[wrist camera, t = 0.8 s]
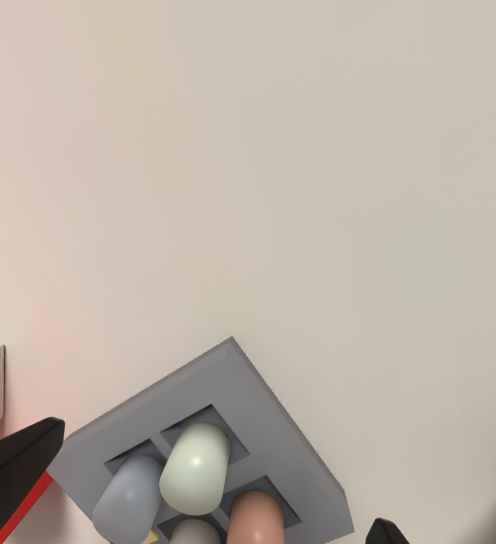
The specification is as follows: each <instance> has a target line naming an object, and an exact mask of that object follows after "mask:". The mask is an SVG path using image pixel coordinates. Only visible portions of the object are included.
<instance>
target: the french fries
mask: <svg viewBox="0 0 496 544" xmlns="http://www.w3.org/2000/svg"><path fill="white" fill-rule="evenodd" d="M53 480H54V479H53V478H52V477H51V476H50V475H49V473H48V472H47V471H46V470H45V472H44V473H43V475H42V476H41V477H40V479H39V480H38V481H37V483H36V484H35V486H34V487H33V488H32V490H31V491H30V493H29V494H28V495H27V497H26V498H25V499H24V501H23V502H22V504H21V505H20V506H19V508H18V509H17V510H16V512H15V513H14V514H13V516H12V517H11V518H10V519H9V521H8V522H7V523H6V524H5V526H4V527H3V528H2V529H1V530H0V544H3V542H4V541H5V540H6V539H7V537H8V536H9V535H10V534H11V532H12V531H13V530H14V529H15V527H16V526H17V525H18V524H19V522H20V521H21V520H22V519H23V517H24V516H25V515H26V514H27V512H28V511H29V510H30V509H31V507H32V506H33V505H34V504H35V502H36V501H37V500H38V499H39V497H40V496H41V495H42V494H43V492H44V491H45V490H46V489H47V487H48V486H49V485H50V484H51V482H52V481H53Z"/></svg>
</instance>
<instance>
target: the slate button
mask: <svg viewBox="0 0 496 544" xmlns="http://www.w3.org/2000/svg"><path fill="white" fill-rule="evenodd" d="M164 468H165V467H164V466H163V465H162V464H161V463H160V462H159V461H158V460H156V459H155V458H153V457H150V456H147V455H141V454H138V455H132V456H130V457H128V458H126V459H125V460H124V461H123V463H122V464H121V466H120V468H119V469H118V471H117V472H116V474H115V476H114V477H113V479H112V481H111V482H110V484H109V485H108V487H107V489H106V490H105V492H104V493H103V495H102V497H101V498H100V500H99V501H98V503H97V505H96V506H95V508H94V510H93V512H92V521H93V525H94V527H95V529H96V530H97V531H98V533H99V534H100V535H101V536H102V537H103V538H105V539H106V540H108V541H109V542H111V543H114V544H140V543H142V542H143V541H144V540H145V539H146V538H147V536H148V534H149V531H150V529H151V526H152V524H153V521H154V519H155V516H156V514H157V511H158V509H159V506H160V504H161V501H162V499H163V497H162V495H161V492H160V489H159V481H160V477H161V475H162V473H163V470H164Z"/></svg>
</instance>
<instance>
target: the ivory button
mask: <svg viewBox="0 0 496 544" xmlns="http://www.w3.org/2000/svg"><path fill="white" fill-rule="evenodd" d="M169 544H221V538H220V535H219V533H218V531H217V530H216V529H215V528H214V527H213V526H212V525H211V524H209V523H207V522H205V521H203V520H199V519H185V520H182V521H181V522H179V523H178V524H177V525H176V526H175V528H174V530H173V533H172V536H171V540H170V543H169Z"/></svg>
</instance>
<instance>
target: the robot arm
mask: <svg viewBox="0 0 496 544" xmlns="http://www.w3.org/2000/svg"><path fill="white" fill-rule="evenodd" d="M64 430H65V422H64V420H62V419H59V418H55V417H48V418H45V419H43V420H41V421H39V422H37V423H35V424H33V425H30V426H28V427H26V428H24V429H22V430H20V431H17V432H15V433H13V434H11V435H9V436H7V437H5V438H2V439H0V530H1V529H2V528H3V527H4V526H5V524H6V523H7V522H8V521H9V519H10V518H11V517H12V516H13V514H14V513H15V512H16V510H17V509H18V508H19V506H20V505H21V504H22V502H23V501H24V499H25V498H26V497H27V495H28V494H29V493H30V491H31V490H32V488H33V487H34V486H35V484H36V483H37V481H38V480H39V479H40V477H41V476H42V475H43V473H44V472H45V470H46V469H47V468H48V466H49V465H50V464H51V462H52V461H53V459H54V458H55V457H56V455H57V454H58V452H59V451H60V449H61V447H62V445H63V439H64ZM365 544H409V542H408V541H407V540H406V538H405V537H404V536H403V534H402V533H401V531H400V530H399V529H398V527H397V526H396V525H395V524H394V523H393V522H391V521H389V520H386V519H382V518H376V519H375V521H374V523H373V525H372V527H371V529H370V531H369V533H368V535H367V537H366V543H365Z"/></svg>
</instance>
